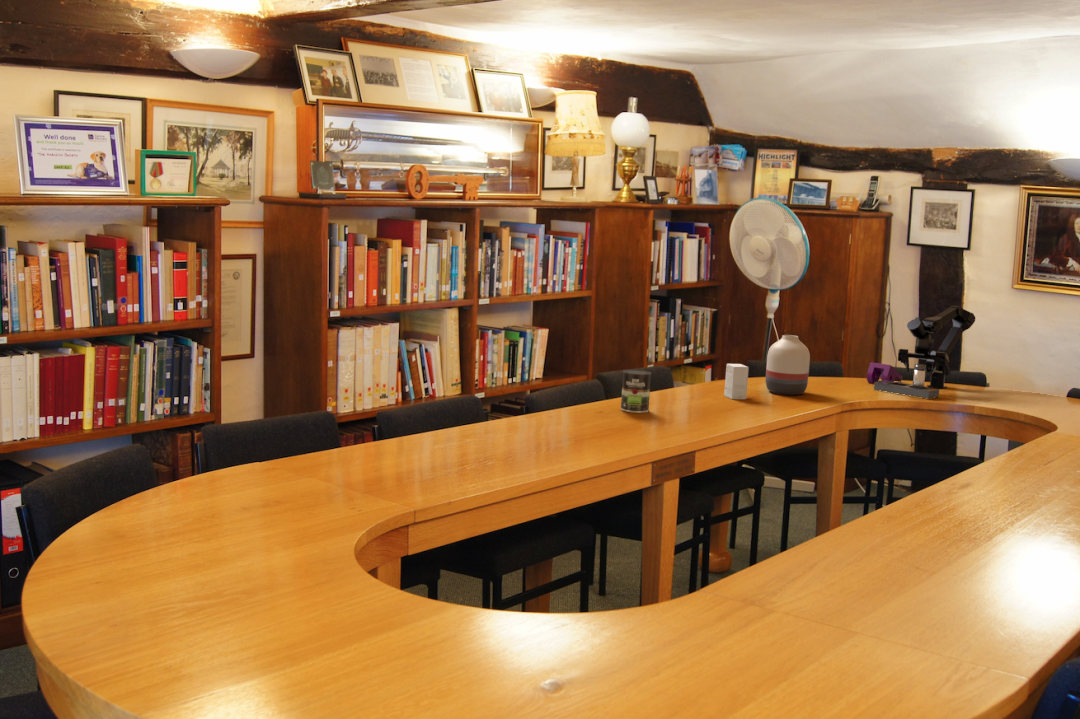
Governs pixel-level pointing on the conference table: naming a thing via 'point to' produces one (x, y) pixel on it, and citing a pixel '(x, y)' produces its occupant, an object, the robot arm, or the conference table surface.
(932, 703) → the conference table surface
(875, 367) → the mounting bracket
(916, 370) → the steel pin
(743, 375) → the small box
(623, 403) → the coffee can
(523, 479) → the conference table surface
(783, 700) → the conference table surface
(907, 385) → the rack rail
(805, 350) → the vase
